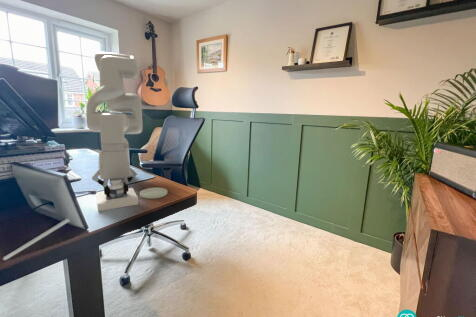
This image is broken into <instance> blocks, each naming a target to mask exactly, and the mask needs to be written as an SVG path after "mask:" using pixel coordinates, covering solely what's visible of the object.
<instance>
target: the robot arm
mask: <svg viewBox="0 0 476 317" xmlns="http://www.w3.org/2000/svg"><path fill="white" fill-rule="evenodd" d="M94 62H95V64H96V68H97V71H99V88H98V89H97V90H95V91H94V92H93V93H92V94H91V95H90V97H89V98H88V100H87V103H86V116H85V117H86V118H85V119H86V126H87V128H88V130H90V131H91V132H94V133H99V134H100V146H101V150H100V151H99V152H98V170H97V171H96V172H95V173H94V175H92V176H91V180H92V181H94V182H96V183H98V184H99V185H101V186H102V187H103V192H104V194H105V195H106V194H107V197H109V185H108V184H109V181H110V179H115V178H121V179H122V180H123V183H122V184H123V185H124V194H125V195H127V192H128V188H129V184H130V183H131V181H132V180H133V179H134V178H135V177H136V176H138V173H137V172H136V171H135V170H134V169H133V168H132V167H131V165H130V163H131V162H130V144H129V141H128V139H127V138H125V135H139V134H141V133H142V132H143V128H144V127H143V109H142V108H143V107H142V105H143V104H142V99H141V97H140V95H138V94H137V93H133V92H132V93H131V92H129V93H127V92H125V82H124V79H132V80H136V79H137V78H138V77H139V72H140V71H139V63H138V60H137V57H136V56H134V55H130V54H125V53H124V54H123V53H118V52H117V53H116V52H109V51H108V52H107V51H100V52H99V51H98V52H97V53H95V55H94ZM103 103H105V106H106V109H107V110H108V111H96V110H97V108H98V107H99V106H100V105H101V104H103ZM126 113H129V114H131V115H128V114H126ZM99 177H100V178H99Z"/></svg>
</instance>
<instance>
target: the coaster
mask: <svg viewBox="0 0 476 317" xmlns="http://www.w3.org/2000/svg"><path fill="white" fill-rule="evenodd" d="M167 195H168V189H167V188H164V187H148V188H144V189H142V190H140V191H139V197H140V198H142V199H148V200H155V199H161V198H163V197H166V196H167Z"/></svg>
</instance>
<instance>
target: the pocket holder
mask: <svg viewBox="0 0 476 317" xmlns="http://www.w3.org/2000/svg"><path fill="white" fill-rule="evenodd" d="M124 195H125V194H124ZM96 205H97V211H98V212H100V211H101V212H103V211H108V210H113V209H118V208H124V207H129V206H136V205H139V197H138V195H137V194H136V192H135V190H134V188H133V187H128V192H127V195H125V197H123V198H116V199H110V200H109V197H107V194H106V195H105V194H104V191H99V192H96Z"/></svg>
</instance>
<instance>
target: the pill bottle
mask: <svg viewBox="0 0 476 317" xmlns="http://www.w3.org/2000/svg"><path fill="white" fill-rule="evenodd" d="M122 182H123V179H121V178H115V179H109V185H108V187H109V200H110V199H116V198H123V197H125V195H124V185H123V183H122Z"/></svg>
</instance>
